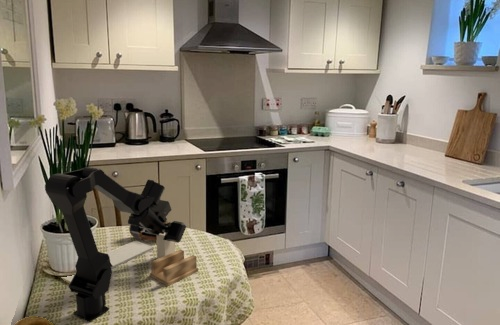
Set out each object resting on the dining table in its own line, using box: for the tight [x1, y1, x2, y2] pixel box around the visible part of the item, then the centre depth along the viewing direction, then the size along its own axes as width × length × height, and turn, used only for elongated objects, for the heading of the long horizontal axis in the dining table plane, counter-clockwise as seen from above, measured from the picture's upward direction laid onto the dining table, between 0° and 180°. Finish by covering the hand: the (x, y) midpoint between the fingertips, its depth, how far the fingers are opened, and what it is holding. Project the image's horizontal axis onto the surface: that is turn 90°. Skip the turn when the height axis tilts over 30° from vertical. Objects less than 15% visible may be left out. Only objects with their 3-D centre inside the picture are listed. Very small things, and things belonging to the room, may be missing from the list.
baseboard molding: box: [61, 238, 154, 285], centre depth 134 cm, size 31×3×12 cm
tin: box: [129, 220, 169, 241], centre depth 151 cm, size 15×3×8 cm, turn 88°
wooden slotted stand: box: [149, 248, 199, 287], centre depth 126 cm, size 12×9×5 cm
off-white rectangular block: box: [156, 232, 176, 260], centre depth 135 cm, size 6×3×10 cm, turn 157°
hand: (168, 237), depth 136 cm, fingers open, 4 cm apart
